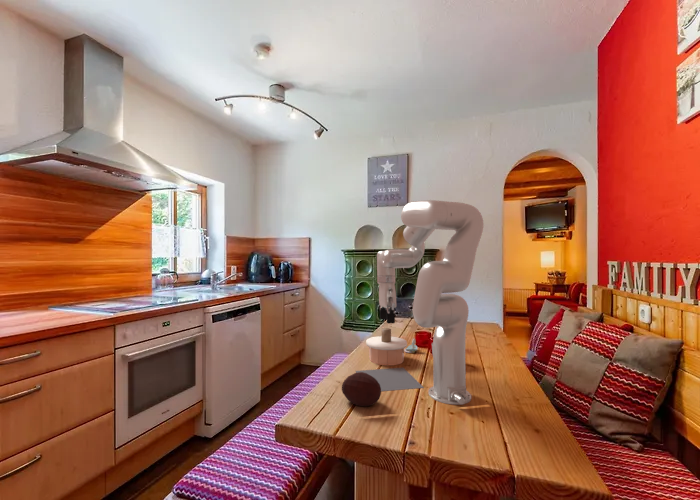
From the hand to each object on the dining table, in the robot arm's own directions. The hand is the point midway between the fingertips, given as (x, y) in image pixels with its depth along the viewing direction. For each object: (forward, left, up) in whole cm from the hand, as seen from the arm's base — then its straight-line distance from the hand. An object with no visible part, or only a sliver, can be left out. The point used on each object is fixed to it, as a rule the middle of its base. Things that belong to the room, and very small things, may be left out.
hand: (387, 321), depth 129 cm
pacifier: (+11, -15, -17) cm, 25 cm away
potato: (-35, +19, -17) cm, 44 cm away
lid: (0, 0, -10) cm, 10 cm away
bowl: (+1, 0, -17) cm, 17 cm away
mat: (-19, +6, -17) cm, 26 cm away
